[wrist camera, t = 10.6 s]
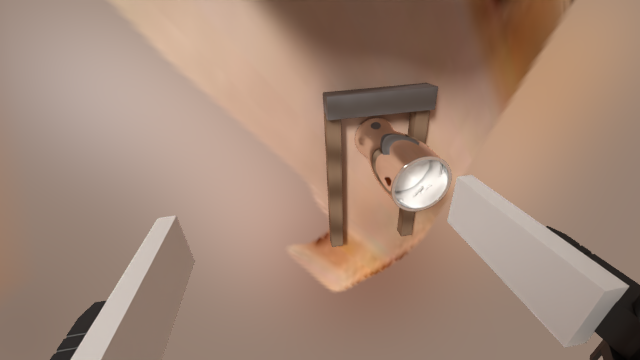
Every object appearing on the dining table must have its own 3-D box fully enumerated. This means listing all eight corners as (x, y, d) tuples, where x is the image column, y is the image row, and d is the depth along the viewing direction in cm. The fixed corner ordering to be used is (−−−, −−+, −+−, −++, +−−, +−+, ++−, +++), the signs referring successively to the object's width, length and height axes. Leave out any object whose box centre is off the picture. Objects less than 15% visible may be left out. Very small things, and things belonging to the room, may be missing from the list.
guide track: (322, 92, 36) (326, 97, 33) (426, 83, 38) (438, 86, 35) (330, 240, 49) (333, 251, 46) (407, 228, 51) (414, 238, 48)
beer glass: (404, 128, 41) (467, 173, 28) (377, 165, 43) (422, 221, 30) (369, 105, 38) (421, 142, 25) (342, 145, 40) (376, 198, 27)
